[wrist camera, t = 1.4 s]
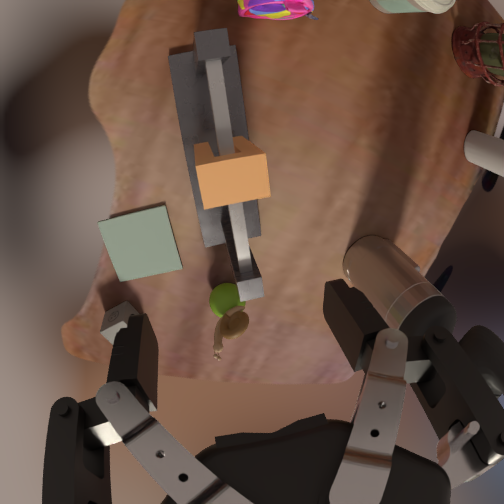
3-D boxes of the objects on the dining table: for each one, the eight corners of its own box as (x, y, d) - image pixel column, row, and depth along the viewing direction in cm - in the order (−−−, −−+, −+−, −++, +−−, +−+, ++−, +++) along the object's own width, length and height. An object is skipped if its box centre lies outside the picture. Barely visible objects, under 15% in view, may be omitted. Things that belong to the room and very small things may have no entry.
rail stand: (234, 46, 30) (262, 16, 17) (259, 232, 43) (291, 296, 30) (168, 57, 29) (154, 30, 16) (204, 244, 42) (214, 313, 29)
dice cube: (123, 330, 47) (120, 351, 43) (105, 311, 45) (99, 332, 40) (145, 319, 47) (143, 341, 43) (127, 299, 44) (122, 320, 40)
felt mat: (165, 204, 38) (165, 205, 38) (182, 267, 43) (182, 268, 43) (98, 221, 37) (97, 222, 37) (120, 280, 42) (120, 281, 42)
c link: (241, 135, 31) (265, 153, 22) (246, 165, 33) (270, 196, 24) (193, 144, 31) (195, 166, 21) (199, 174, 33) (204, 209, 23)
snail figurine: (196, 293, 46) (201, 350, 36) (227, 269, 45) (240, 323, 35) (219, 312, 49) (229, 368, 39) (249, 290, 48) (266, 344, 38)
